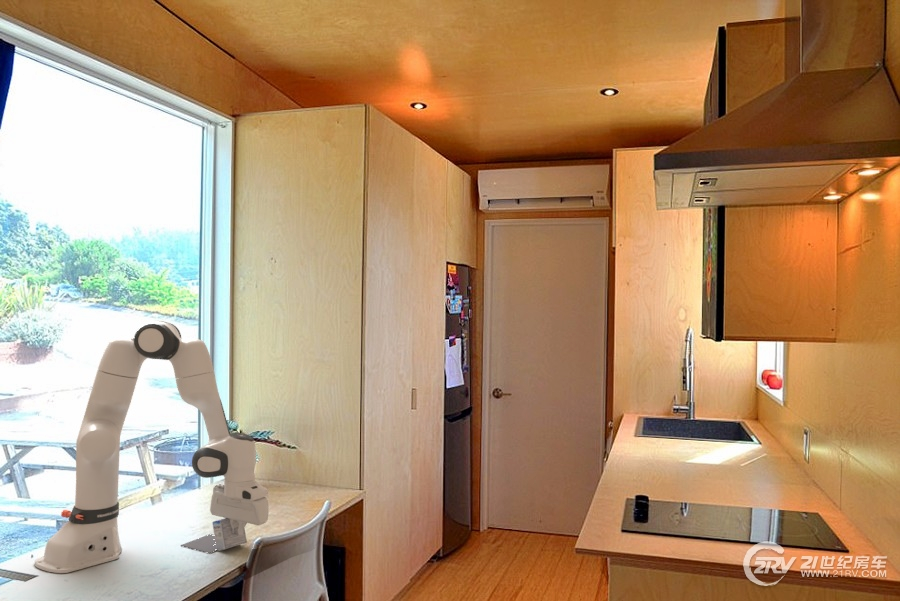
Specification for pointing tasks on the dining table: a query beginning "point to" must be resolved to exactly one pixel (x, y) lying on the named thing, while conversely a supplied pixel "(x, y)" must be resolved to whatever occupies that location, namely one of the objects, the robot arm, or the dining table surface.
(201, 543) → the mat
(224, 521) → the medicine box
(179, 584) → the dining table surface
